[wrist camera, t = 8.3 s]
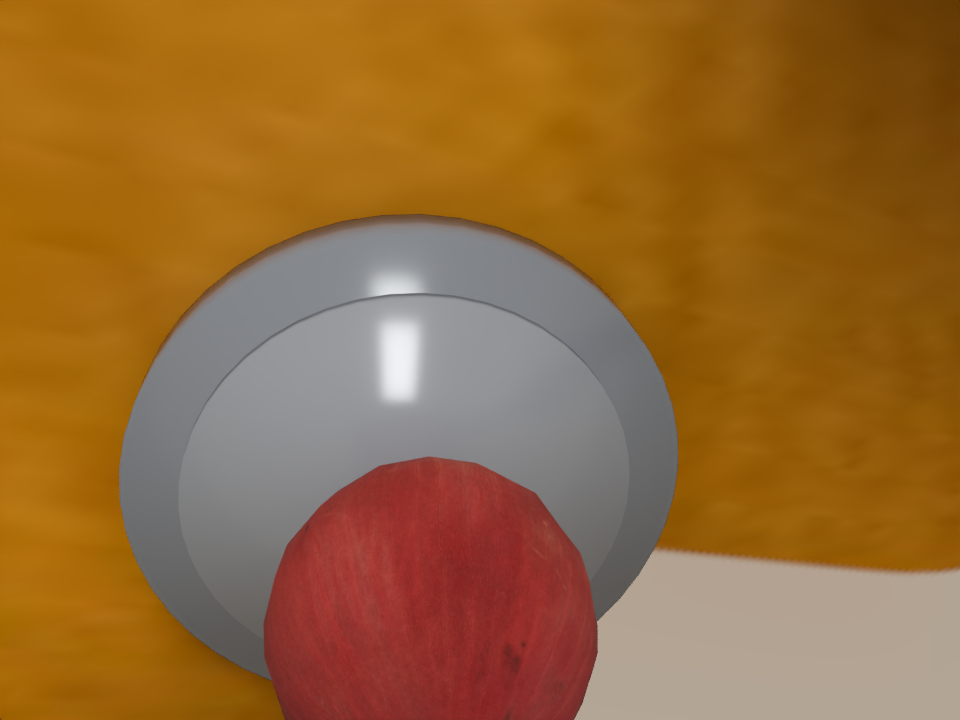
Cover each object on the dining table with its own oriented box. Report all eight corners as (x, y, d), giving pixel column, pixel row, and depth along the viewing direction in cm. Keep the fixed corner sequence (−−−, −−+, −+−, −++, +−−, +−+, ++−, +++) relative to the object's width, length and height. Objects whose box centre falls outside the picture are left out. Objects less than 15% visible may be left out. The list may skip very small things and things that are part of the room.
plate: (674, 189, 19) (699, 211, 18) (650, 629, 24) (668, 672, 23) (68, 242, 18) (47, 270, 16) (188, 694, 23) (179, 742, 22)
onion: (594, 524, 21) (730, 854, 14) (379, 646, 21) (402, 1020, 14) (460, 331, 18) (542, 617, 11) (219, 478, 19) (151, 835, 12)
